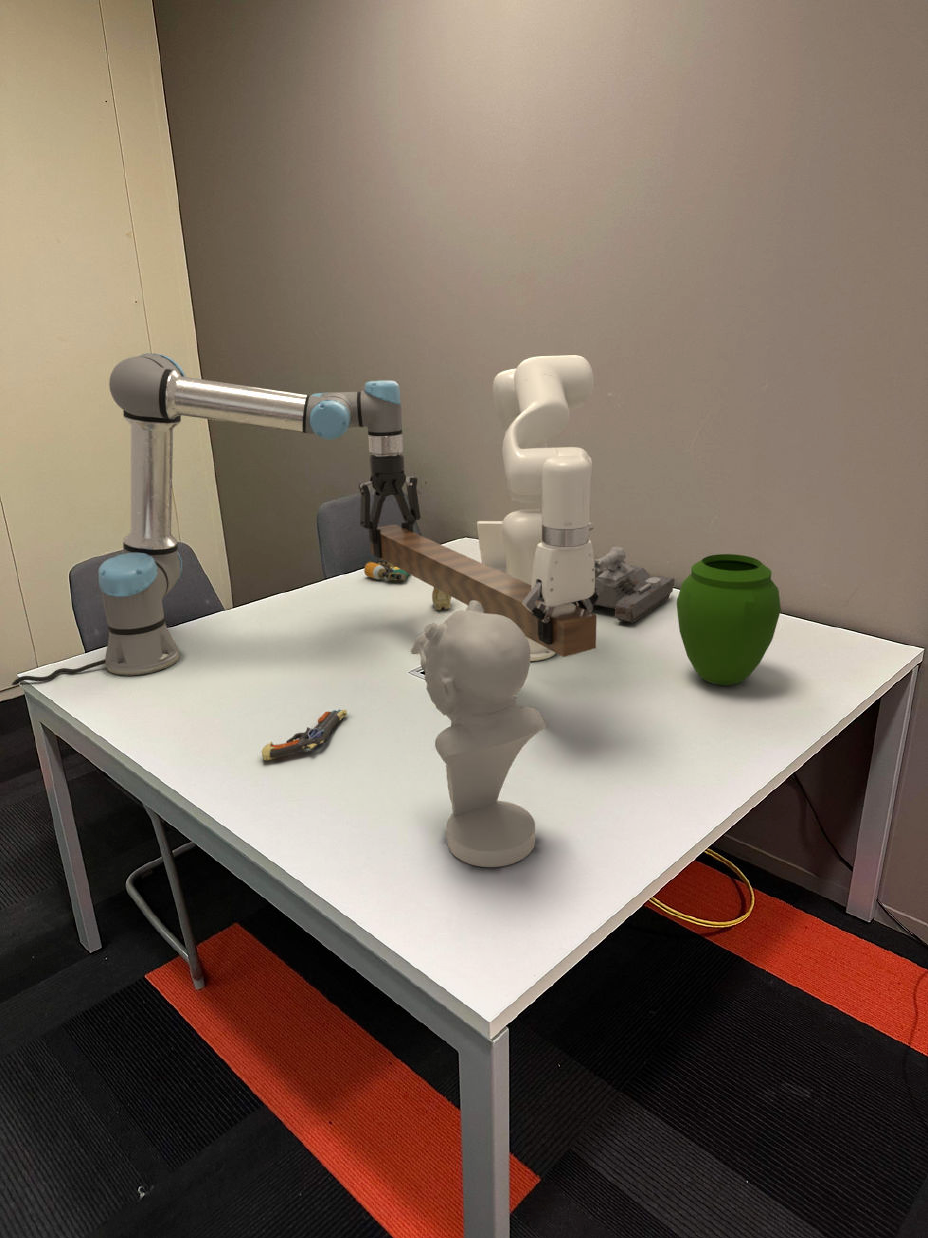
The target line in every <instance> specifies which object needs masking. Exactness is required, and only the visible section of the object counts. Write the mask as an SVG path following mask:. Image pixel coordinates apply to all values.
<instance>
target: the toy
mask: <svg viewBox="0 0 928 1238" xmlns="http://www.w3.org/2000/svg"><path fill="white" fill-rule="evenodd" d="M626 557H627V556H626V551H625V549H624V548H622V547H621V546H614V547H612V548H611V549H610V550H609V552H608V553H607V554H605V555H604V556H601V557H599V558H598V559H597V557H596V558H595V557H594V565H595V577H596V578H597V579H598V580H599V581H601V582H602V583H603V584H604V585H605V587H604V589H603V591H602V592H601V594H600V595H599V596H598V600H597V601H596V603H595V604H594V605H593V606H598V607H602V608H603V607H604V608H609V609H613V610H614V618H615V619H617V620H618V621H621V622H626V623H631V624H634V623H635V622H637V621H638V620H640V619H641V618H642V617H644V616H645V615H647V614H648V613H650V612H651V611H652V610H654V609H655V608H657V607H659V606H660V605H661V604H663V603H664V602H666V601H667V600H669V598H670V596H671V594H672V593H673V591H674V585H675V580H676V579H675V578H673V577H668V576H663V575H656V576H655V577H654V576H651V574H650V573H649V572H648V571H647V570H646V568H644V567H641V566H635V565H629V564H628V563H627V562H626V561H625V559H626ZM571 604H574V605H576V606H577V603H576V602H572V603H571Z"/></svg>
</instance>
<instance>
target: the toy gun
mask: <svg viewBox="0 0 928 1238" xmlns="http://www.w3.org/2000/svg"><path fill="white" fill-rule="evenodd" d="M347 712H348V710H347V709H340V708H339V709H338V710H336V709H333V710H332V711H330V710H329V711H324V713H323V714H322V715H321V716H320V717H319V718H318V719H317V724H316V726H314V727H313V728H311V727H306V730H305V731H304V732H297V733H295V734H294V735H292V736H291V737H290V738H289V739H287V740H286V741H285V742H284V743H280V744H274V743H273V742H272V741H271V742H269V743H267V744H265V746H264V747H262V749H261V755H262V760H263V761H271V760H274V759H278V758H283V757H285V756H288V755H292V754H295V753H299V752H302V751H305V750H307V749H309V750H312V749H314V748H315V747H317V746H318V745H320V744H323V743H324V742H325V741H326V739H327V738H328V737H329V736H330V734H331V732H332V730H333V729H334V728H335V726H336V725H337V724H338V723H339V722H340V721H341V720H342V719H343V718H344V717H347V715H348V713H347Z"/></svg>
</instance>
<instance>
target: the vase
mask: <svg viewBox="0 0 928 1238" xmlns="http://www.w3.org/2000/svg"><path fill="white" fill-rule="evenodd" d="M690 568H691V569H690V571H691V573H690V574H689V575H688V576H687V577H686V578H685V579H683V581H682V582H681V585H680V589H679V592H678V596H677V598H676V611H677V621H678V629H679V635H680V638H681V641H682V644H683V647H684V650H685V653H686V656H687V658H688V660H689V662H690V664H691V665H692V667H693V669H694V671H695V672H696V673H697V674H698V676H699V677H700V678H701V679H702V680H704V681H706V682H707V683H710V684H713V685H717V686H734V685H738V684H740V683H742V682H744V680H746V679H747V678H748V677H749V676H751V674H752V673H753V672H754V671H755V670H756V669H757V667H758V666H759V665H760V664H761V662H762V660H763V659H764V657H765V654H766V653H767V652H768V649H769V647H770V645H771V643H772V641H773V639H774V636H775V632H776V628H777V625H778V621H779V618H780V614H781V611H782V607H781V606H782V605H781V599H780V591H779V588H778V586H777V585H776V584H775V582H774V581H773V579H772V575H773V573H772V570H771V569H770V568H769V567H768V566H767V565H765V564H764V563H763V562H762V561H761V560H759V559H757V558H755V557H752V556H749V555H748V556H747V555H743V554H735V553H722V554H721V553H720V554H711V555H708V556H705V557H703V558H702V559H701V560H699V561H697V562H695V563H694V564H692V565H691V567H690Z"/></svg>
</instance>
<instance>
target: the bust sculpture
mask: <svg viewBox="0 0 928 1238" xmlns="http://www.w3.org/2000/svg"><path fill="white" fill-rule="evenodd" d="M530 653H531V652H530V646H529V643H528V640H527V638H526V636H525V634H524V633H523V632H522V630H521V629H520V628H519V627H518V626H517V625H516V624H515V623H514V622H513V621H512V620H511V619H509V618H507V617H505V616H502V615H497V614H485V613H484V609H483V608H482V605H481V603H480V602H478V601H474V600H472V601H470V603H469V605H467V607H466V609H460V610H457V611H455V612H453V613H451V615H449V616H448V617H447V618H446V619H445V620H444V622H442V624H441V623H435V622H430V623H428V624H427V625H426V626H425V628H424V632H423V633H421V634H419V635H418V636H417V637H416V638H415V640H414V642H413V645H412V647H411V649H410V654H412V655H420V667H421V669H422V670H423V672H424V681H425V682H426V690H427V693H428V696H429V698H430V701H431V702H432V704H434V706H435V708H436V710H438V711H439V712H440V713H441V714H442V716H446V717H447V718H448V719H449V720H450V726H448V727H446V728H445V729H443V730H442V731H441V732H440V733H439V734H438V735H436V738H435V741H434V748H435V749H436V752H437V753H438V755H439V757H440V758H441V760H442V761H443V762H444V763H445V771H446V781H447V790H448V796H449V800H450V803H451V810H452V813H451V814H450V815H449V817H448V819H447V822H446V844H447V847H448V849H449V851H450V852H451V854H452V855H453V856H454V857H456V858H457V859H459V860H460V861H462V862H463V863H466V864H469V865H471V866H476V867H483V868H498V867H505V866H509V865H512V864H517V862H520V861H521V860H523V859H525V858H527V856H528V855H530V854H531V852H532V851H533V849H535V848H534V847H535V845H536V822H535V821H536V820H535V819H534V817H533V816H532V814H531V813H530V812H529V811H528V810H526V809H525V808H524V807H522V806H520V805H517V804H515V803H513V802H509V801H504V800H499V796H500V793H501V790H502V788H503V785H504V783H505V780H506V778H507V776H508V773H509V771H510V769H511V768H512V765H513V763H514V761H515V760H516V759H517V756H518V755H519V753H520V752H521V750H522V749H523V748H524V747H525V745H526V744H527V743H528V742H529V741H530V740H531V739H532V738H533V737H535V735H537V734H538V733H539V732H541V731H544V730H545V729H546V728H547V725H546V723H545V720H544V718H543V717H542V714H541V713H540V712H539V711H538V710H537V709H535V708H533V707H530V706H518V705H517V701H516V699H517V698H516V696H515V695H516V694H517V693H519V691H521V689H522V688H523V686H524V684H525V683H526V680H527V678H528V675H529V669H530V666H531V661H530V656H531V655H530Z"/></svg>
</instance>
